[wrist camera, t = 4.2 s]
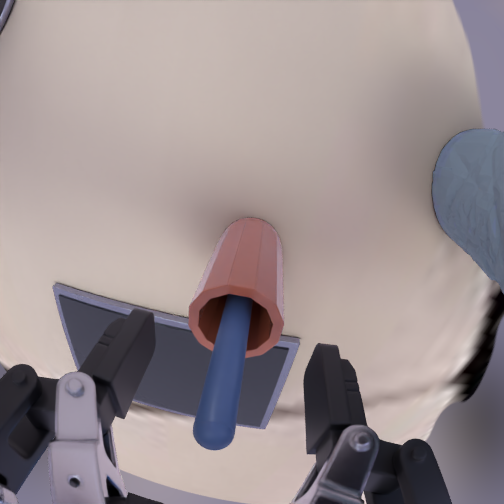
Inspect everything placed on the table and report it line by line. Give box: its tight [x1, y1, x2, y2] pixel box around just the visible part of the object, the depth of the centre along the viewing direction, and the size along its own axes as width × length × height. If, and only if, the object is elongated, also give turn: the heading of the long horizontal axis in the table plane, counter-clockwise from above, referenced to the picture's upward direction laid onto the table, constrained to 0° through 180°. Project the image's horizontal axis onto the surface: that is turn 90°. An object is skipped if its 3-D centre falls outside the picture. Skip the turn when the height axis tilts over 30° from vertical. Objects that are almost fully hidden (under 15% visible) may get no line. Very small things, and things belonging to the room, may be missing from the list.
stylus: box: [193, 294, 253, 450], centre depth 12 cm, size 1×1×13 cm
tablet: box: [53, 283, 300, 429], centre depth 24 cm, size 22×14×1 cm, turn 81°
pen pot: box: [188, 218, 284, 358], centre depth 15 cm, size 4×4×8 cm
